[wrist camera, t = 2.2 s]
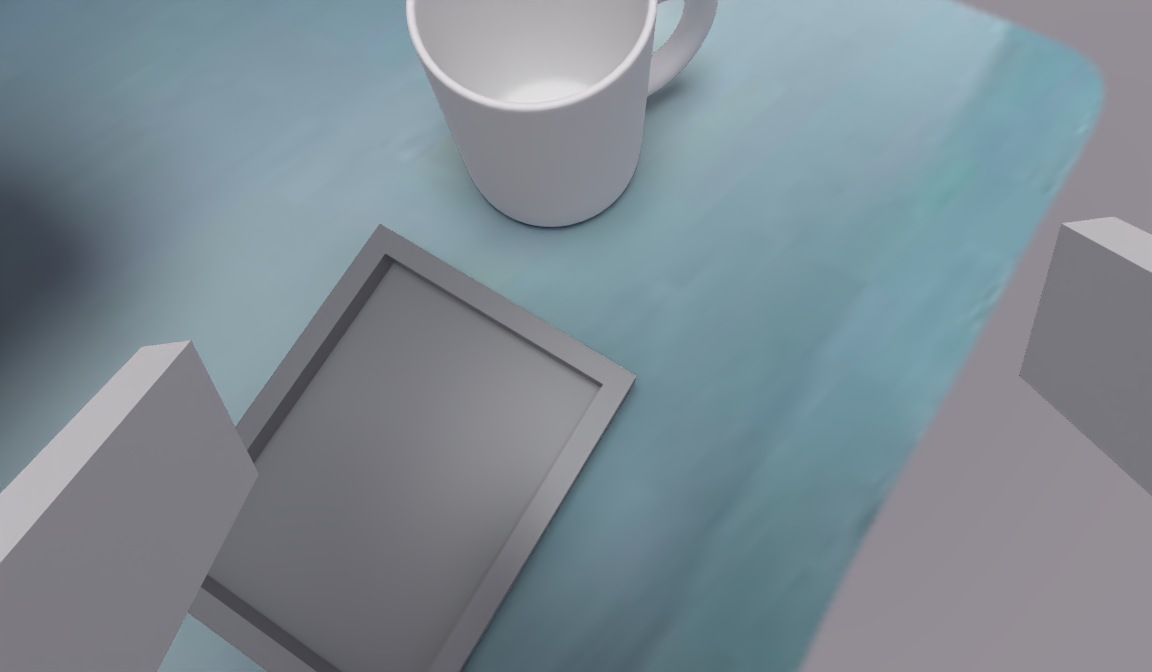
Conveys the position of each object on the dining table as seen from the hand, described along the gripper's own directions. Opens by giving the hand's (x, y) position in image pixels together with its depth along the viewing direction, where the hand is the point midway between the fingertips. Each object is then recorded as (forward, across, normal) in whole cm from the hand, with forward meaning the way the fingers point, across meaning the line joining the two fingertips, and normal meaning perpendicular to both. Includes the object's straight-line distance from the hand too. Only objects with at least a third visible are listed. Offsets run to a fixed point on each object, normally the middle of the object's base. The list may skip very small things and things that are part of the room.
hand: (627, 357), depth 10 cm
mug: (+24, +1, -3) cm, 24 cm away
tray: (+13, -9, -13) cm, 21 cm away
